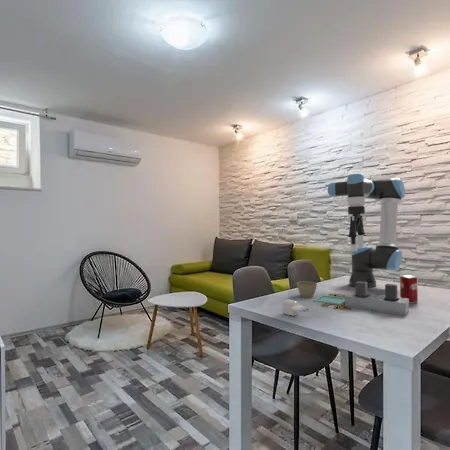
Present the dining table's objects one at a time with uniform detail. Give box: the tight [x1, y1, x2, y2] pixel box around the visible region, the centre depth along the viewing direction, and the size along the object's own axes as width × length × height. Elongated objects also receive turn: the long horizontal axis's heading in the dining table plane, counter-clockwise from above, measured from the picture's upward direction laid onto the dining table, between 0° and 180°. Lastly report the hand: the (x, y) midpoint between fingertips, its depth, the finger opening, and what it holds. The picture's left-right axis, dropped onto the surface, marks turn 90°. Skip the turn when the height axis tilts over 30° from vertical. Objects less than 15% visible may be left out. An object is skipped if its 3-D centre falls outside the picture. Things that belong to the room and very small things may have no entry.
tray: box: [312, 294, 345, 306], centre depth 155 cm, size 13×13×1 cm
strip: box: [344, 283, 410, 317], centre depth 144 cm, size 20×24×11 cm
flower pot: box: [296, 281, 318, 298], centre depth 164 cm, size 10×10×7 cm
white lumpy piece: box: [281, 299, 310, 317], centre depth 131 cm, size 11×5×6 cm, turn 43°
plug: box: [355, 281, 368, 298], centre depth 143 cm, size 4×4×10 cm
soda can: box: [399, 274, 419, 304], centre depth 151 cm, size 7×7×12 cm
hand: (357, 249), depth 155 cm, fingers open, 13 cm apart
